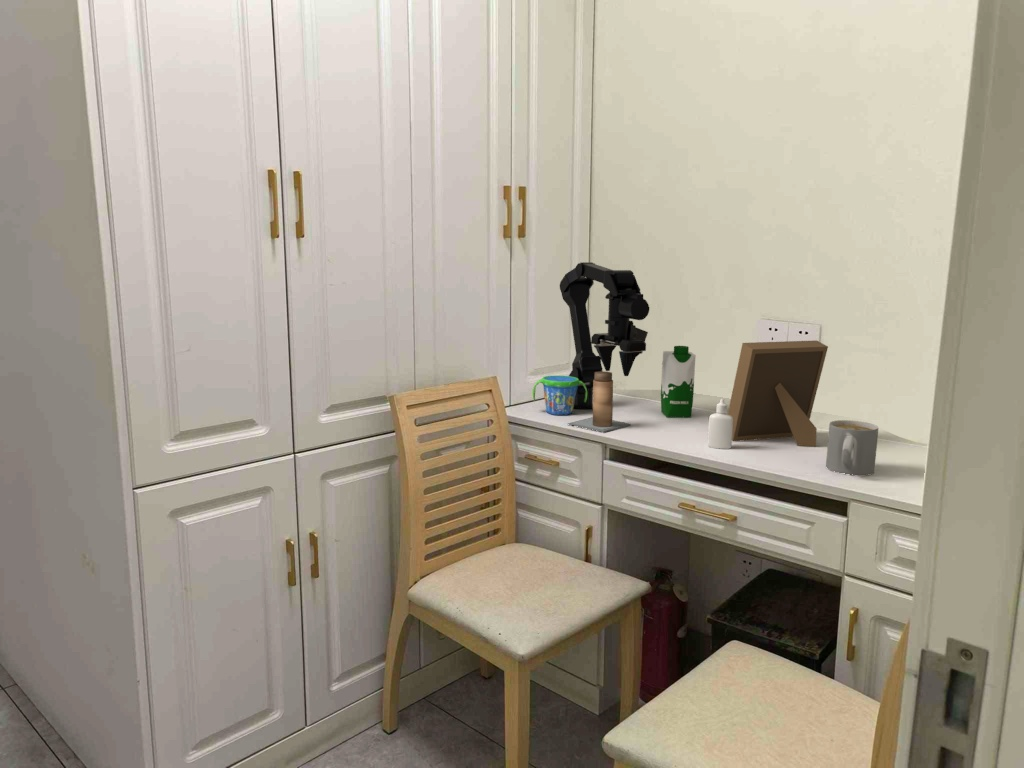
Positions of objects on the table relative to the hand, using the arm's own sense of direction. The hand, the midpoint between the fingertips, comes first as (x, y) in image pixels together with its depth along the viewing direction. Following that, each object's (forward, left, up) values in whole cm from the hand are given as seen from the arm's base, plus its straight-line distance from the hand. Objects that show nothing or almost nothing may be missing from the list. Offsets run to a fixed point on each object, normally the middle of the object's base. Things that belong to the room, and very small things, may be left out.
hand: (616, 373), depth 222 cm
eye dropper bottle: (+25, +26, -13) cm, 38 cm away
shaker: (+10, -3, -12) cm, 16 cm away
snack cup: (-5, -16, -13) cm, 21 cm away
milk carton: (-10, +17, -13) cm, 24 cm away
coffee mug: (+40, +52, -13) cm, 67 cm away
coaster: (+8, -4, -13) cm, 16 cm away
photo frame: (+16, +41, -13) cm, 46 cm away
